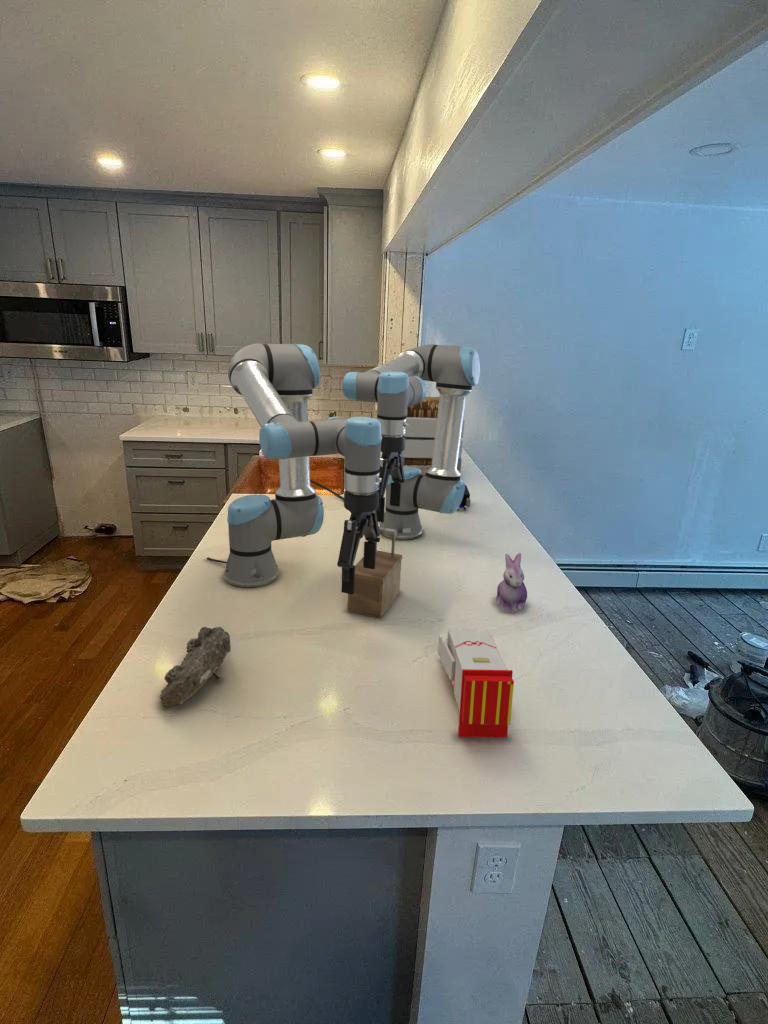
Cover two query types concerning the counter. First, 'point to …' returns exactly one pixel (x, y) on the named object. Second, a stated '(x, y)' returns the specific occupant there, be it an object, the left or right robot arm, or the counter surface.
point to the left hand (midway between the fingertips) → (359, 579)
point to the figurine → (512, 586)
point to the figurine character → (465, 499)
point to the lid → (380, 561)
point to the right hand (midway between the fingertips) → (387, 513)
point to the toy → (478, 682)
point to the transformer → (423, 434)
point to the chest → (375, 594)
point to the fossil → (196, 665)
